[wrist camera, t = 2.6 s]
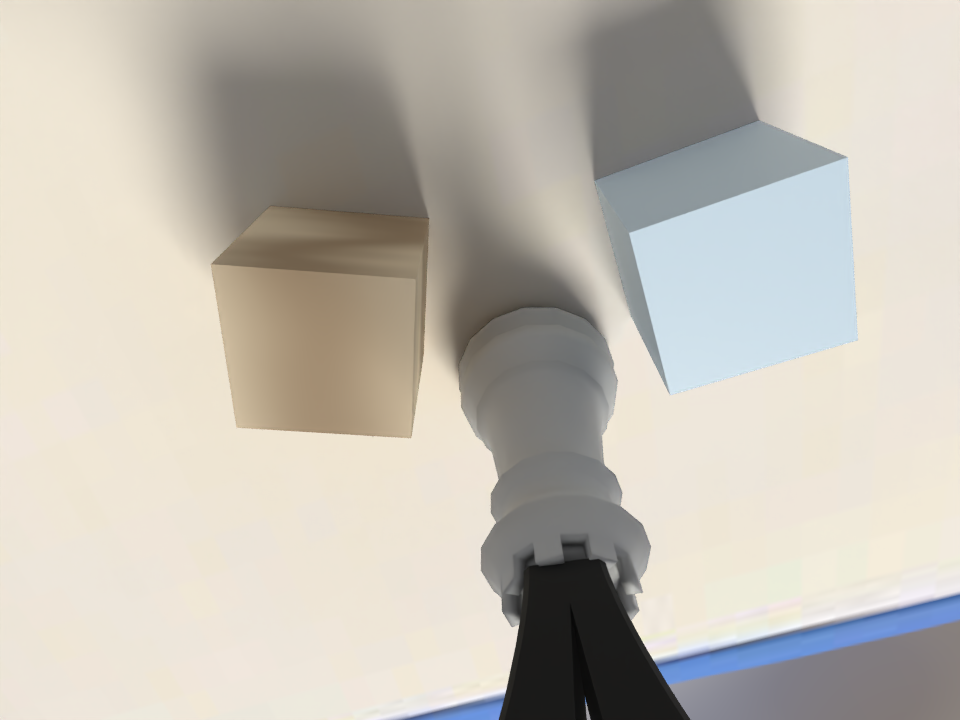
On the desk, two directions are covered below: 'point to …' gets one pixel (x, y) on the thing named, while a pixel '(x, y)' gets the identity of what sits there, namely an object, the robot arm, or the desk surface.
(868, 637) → the desk surface
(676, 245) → the pale blue block
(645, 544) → the rook chess piece
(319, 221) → the beech block
